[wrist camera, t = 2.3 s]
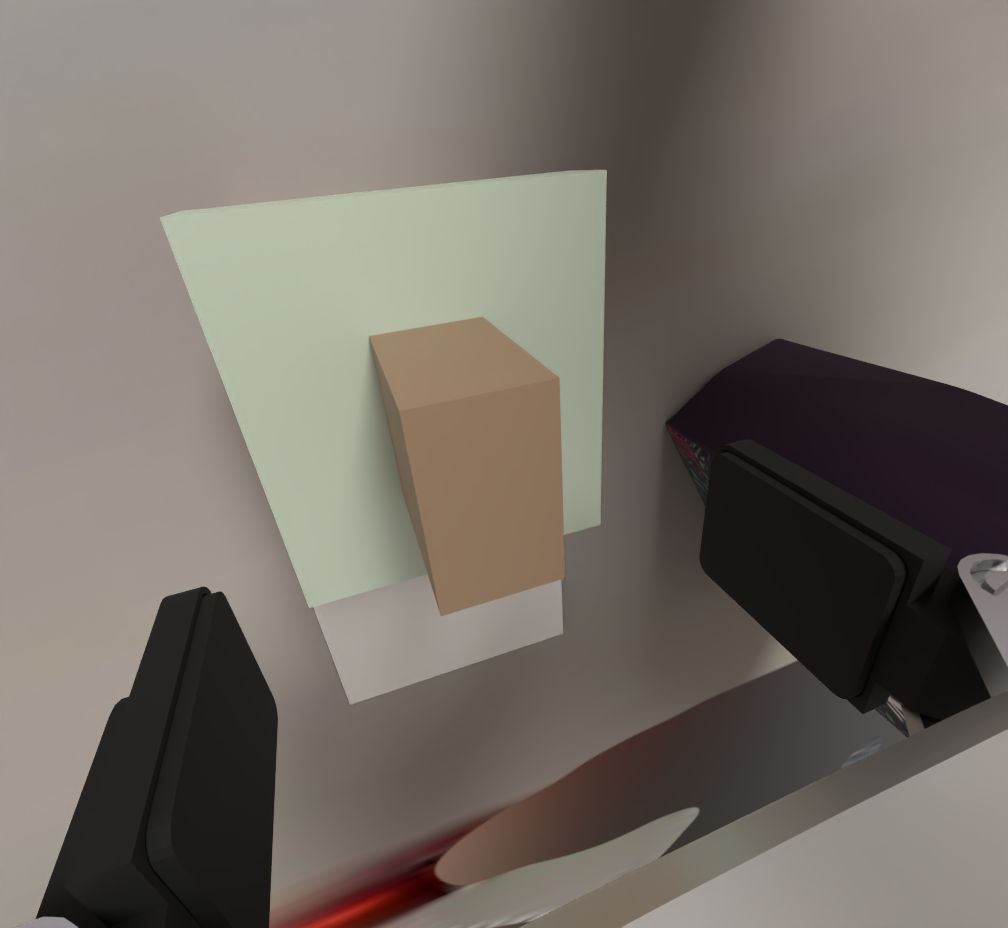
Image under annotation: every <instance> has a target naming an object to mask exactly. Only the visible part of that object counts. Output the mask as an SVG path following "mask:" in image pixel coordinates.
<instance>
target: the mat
mask: <svg viewBox="0 0 1008 928" xmlns="http://www.w3.org/2000/svg"><path fill="white" fill-rule="evenodd" d="M313 608H314V610H315V613H316V616H317V618H318V621H319V624H320V626H321V629H322V632H323V634H324V637H325V639H326V642H327V645H328V647H329V650H330V653H331V655H332V658H333V661H334V663H335V666H336V669H337V671H338V674H339V677H340V679H341V682H342V685H343V687H344V690H345V693H346V695H347V698H348V701H349V703H350V705H351V704H354V703H357V702H360V701H363V700H366V699H369V698H372V697H375V696H378V695H381V694H384V693H387V692H390V691H393V690H396V689H399V688H402V687H405V686H408V685H411V684H414V683H417V682H420V681H423V680H426V679H429V678H432V677H435V676H438V675H441V674H444V673H447V672H450V671H453V670H456V669H459V668H462V667H465V666H468V665H471V664H474V663H477V662H480V661H483V660H486V659H489V658H492V657H495V656H498V655H501V654H504V653H507V652H510V651H513V650H516V649H519V648H522V647H525V646H528V645H531V644H534V643H537V642H540V641H542V640H545V639H548V638H551V637H554V636H557V635H560V634H563V612H562V581H561V580H558V581H555V582H551V583H548V584H545V585H542V586H538V587H535V588H532V589H529V590H525V591H522V592H519V593H516V594H512V595H509V596H506V597H503V598H499V599H496V600H493V601H490V602H486V603H483V604H480V605H477V606H473V607H470V608H467V609H464V610H460V611H457V612H454V613H451V614H447V615H444V616H441V615H440V612H439V609H438V606H437V603H436V599H435V596H434V593H433V590H432V586H431V583H430V580H429V577H428V574H426V575H423V576H419V577H416V578H412V579H409V580H405V581H402V582H398V583H395V584H392V585H388V586H385V587H381V588H378V589H374V590H371V591H367V592H364V593H360V594H357V595H353V596H350V597H346V598H343V599H339V600H336V601H332V602H329V603H325V604H322V605H318V606H315V607H313Z"/></svg>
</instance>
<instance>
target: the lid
mask: <svg viewBox="0 0 1008 928" xmlns="http://www.w3.org/2000/svg"><path fill="white" fill-rule="evenodd" d="M606 182H607V170H569V171H560V172H550V173H541V174H531V175H522V176H512V177H503V178H493V179H483V180H474V181H464V182H455V183H445V184H436V185H426V186H417V187H407V188H397V189H388V190H378V191H369V192H359V193H350V194H340V195H331V196H321V197H312V198H302V199H292V200H283V201H273V202H264V203H254V204H245V205H235V206H226V207H216V208H206V209H197V210H187V211H180V212H176V213H173V214H170V215H166V216H163V217H160V219H161V222H162V225H163V227H164V230H165V232H166V235H167V238H168V240H169V243H170V245H171V248H172V251H173V253H174V256H175V259H176V261H177V264H178V266H179V269H180V272H181V274H182V277H183V279H184V282H185V285H186V287H187V290H188V293H189V295H190V298H191V300H192V303H193V306H194V308H195V311H196V313H197V316H198V319H199V321H200V324H201V327H202V329H203V332H204V334H205V337H206V340H207V342H208V345H209V347H210V350H211V353H212V355H213V358H214V361H215V363H216V366H217V368H218V371H219V374H220V376H221V379H222V381H223V384H224V387H225V389H226V392H227V395H228V397H229V400H230V402H231V405H232V408H233V410H234V413H235V415H236V418H237V421H238V423H239V426H240V429H241V431H242V434H243V436H244V439H245V442H246V444H247V447H248V449H249V452H250V455H251V457H252V460H253V463H254V465H255V468H256V470H257V473H258V476H259V478H260V481H261V483H262V486H263V489H264V491H265V494H266V497H267V499H268V502H269V504H270V507H271V510H272V512H273V515H274V517H275V520H276V523H277V525H278V528H279V531H280V533H281V536H282V538H283V541H284V544H285V546H286V549H287V551H288V554H289V557H290V559H291V562H292V565H293V567H294V570H295V572H296V575H297V578H298V580H299V583H300V585H301V588H302V591H303V593H304V596H305V599H306V601H307V604H308V606H309V608H311V607H315V606H318V605H322V604H325V603H329V602H332V601H336V600H339V599H343V598H346V597H350V596H353V595H357V594H360V593H364V592H367V591H371V590H374V589H378V588H381V587H385V586H388V585H392V584H395V583H398V582H402V581H405V580H409V579H412V578H416V577H419V576H423V575H426V574H428V577H429V580H430V583H431V586H432V590H433V593H434V596H435V599H436V603H437V606H438V609H439V612H440V615H441V616H444V615H447V614H451V613H454V612H457V611H460V610H464V609H467V608H470V607H473V606H477V605H480V604H483V603H486V602H490V601H493V600H496V599H499V598H503V597H506V596H509V595H512V594H516V593H519V592H522V591H525V590H529V589H532V588H535V587H538V586H542V585H545V584H548V583H551V582H555V581H558V580H561V579H564V578H565V556H564V535H566V534H570V533H573V532H577V531H580V530H584V529H587V528H591V527H594V526H598V525H600V518H601V462H602V406H603V350H604V294H605V238H606Z"/></svg>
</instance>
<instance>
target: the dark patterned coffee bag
mask: <svg viewBox="0 0 1008 928" xmlns="http://www.w3.org/2000/svg"><path fill="white" fill-rule="evenodd" d="M666 426H667V428H668V431H669V433H670V435H671V437H672V439H673V441H674V443H675V445H676V447H677V449H678V451H679V453H680V455H681V457H682V459H683V461H684V463H685V465H686V467H687V469H688V471H689V473H690V475H691V477H692V480H693V482H694V484H695V486H696V488H697V490H698V492H699V494H700V496H701V498H702V500H703V502H704V504H705V506H706V501H707V493H708V485H709V477H710V469H711V462H712V459H713V457H714V456H715V455H716V453H717V451H718V449H719V448H720V447H722V446H723V445H727V444H731V443H734V442H738V441H742V440H748V439H749V440H752V441H755V442H756V443H758V444H760V445H762V446H764V447H766V448H767V449H769V450H771V451H773V452H775V453H777V454H778V455H780V456H782V457H784V458H786V459H787V460H789V461H791V462H793V463H795V464H797V465H798V466H800V467H802V468H804V469H806V470H808V471H809V472H811V473H813V474H815V475H817V476H818V477H820V478H822V479H824V480H826V481H828V482H829V483H831V484H833V485H835V486H837V487H839V488H840V489H842V490H844V491H846V492H848V493H849V494H851V495H853V496H855V497H857V498H859V499H860V500H862V501H864V502H866V503H868V504H870V505H871V506H873V507H875V508H877V509H879V510H880V511H882V512H884V513H886V514H888V515H890V516H891V517H893V518H895V519H897V520H899V521H901V522H902V523H904V524H906V525H908V526H910V527H911V528H913V529H915V530H917V531H919V532H921V533H922V534H924V535H926V536H928V537H930V538H932V539H933V540H935V541H937V542H939V543H941V544H942V545H944V546H946V547H948V548H950V549H952V551H951V553H950V555H949V558H948V560H947V562H946V565H945V566H946V567H947V568H949V569H951V570H952V571H954V572H955V571H956V568H957V566H958V564H959V562H960V560H961V559H963V558H965V557H967V556H969V555H974V554H980V553H987V554H1000V555H1005V556H1008V405H1005V404H1002V403H1000V402H997V401H994V400H992V399H989V398H986V397H984V396H981V395H978V394H976V393H973V392H970V391H967V390H964V389H961V388H958V387H955V386H951V385H948V384H944V383H940V382H937V381H933V380H929V379H926V378H922V377H918V376H915V375H911V374H907V373H903V372H900V371H896V370H892V369H889V368H885V367H881V366H878V365H874V364H870V363H867V362H863V361H859V360H856V359H852V358H848V357H845V356H841V355H837V354H833V353H830V352H826V351H822V350H819V349H815V348H811V347H808V346H804V345H800V344H797V343H793V342H789V341H786V340H783V339H776V340H774V341H772V342H771V343H769V344H767V345H765V346H764V347H762V348H760V349H758V350H756V351H755V352H753V353H751V354H749V355H748V356H746V357H744V358H742V359H741V360H739V361H737V362H735V363H734V364H732V365H730V366H728V367H727V368H725V369H723V370H722V371H720V372H719V373H718V374H717V375H716V376H715V377H714V378H713V379H712V380H711V381H710V382H709V383H708V384H707V385H706V386H705V387H704V388H703V389H702V390H701V391H700V392H699V393H698V394H697V395H696V396H695V397H694V398H693V399H692V400H691V401H690V402H689V403H688V404H687V405H686V406H685V407H684V408H683V409H682V410H681V411H680V412H679V413H678V414H676V415H675V416H674V417H672V418H671V419H670V420H668V421H667V422H666ZM875 710H876V711H877V712H879V713H880V714H881V715H882V716H883V717H884V718H885V719H887V720H888V721H889V722H890V723H891V724H892V725H894V726H895V727H896V728H897V729H898V730H899V731H901V732H902V733H903V734H904V735H905V736H906V737H909V736H910V735H909V732H908V729H907V725H906V722H905V719H904V715H903V712H902V709H901V705H900V701H898V700H897V699H896V698H895V697H894V696H892V695H891V694H890V696H889V698H888V700H887V703H886V704H884V705H881V706H879V707H877V708H875Z"/></svg>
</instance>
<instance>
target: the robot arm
mask: <svg viewBox="0 0 1008 928" xmlns="http://www.w3.org/2000/svg"><path fill="white" fill-rule="evenodd" d="M951 551H952V549H950V548H948V547H946V546H944V545H942V544H941V543H939V542H937V541H935V540H933V539H932V538H930V537H928V536H926V535H924V534H922V533H921V532H919V531H917V530H915V529H913V528H911V527H910V526H908V525H906V524H904V523H902V522H901V521H899V520H897V519H895V518H893V517H891V516H890V515H888V514H886V513H884V512H882V511H880V510H879V509H877V508H875V507H873V506H871V505H870V504H868V503H866V502H864V501H862V500H860V499H859V498H857V497H855V496H853V495H851V494H849V493H848V492H846V491H844V490H842V489H840V488H839V487H837V486H835V485H833V484H831V483H829V482H828V481H826V480H824V479H822V478H820V477H818V476H817V475H815V474H813V473H811V472H809V471H808V470H806V469H804V468H802V467H800V466H798V465H797V464H795V463H793V462H791V461H789V460H787V459H786V458H784V457H782V456H780V455H778V454H777V453H775V452H773V451H771V450H769V449H767V448H766V447H764V446H762V445H760V444H758V443H756V442H755V441H752V440H749V439H748V440H742V441H738V442H734V443H731V444H727V445H723V446H722V447H720V448H719V449H718V451H717V453H716V455H715V456H714V457H713V459H712V462H711V469H710V477H709V485H708V493H707V501H706V509H705V517H704V525H703V533H702V541H701V549H700V563H701V566H702V568H703V570H704V572H705V573H706V574H707V575H708V576H709V577H710V578H711V579H712V580H713V581H714V582H715V583H717V584H718V585H719V586H720V587H721V588H722V589H723V590H724V591H725V592H726V593H727V594H728V595H729V596H730V597H731V598H732V599H734V600H735V601H736V602H737V603H738V604H739V605H740V606H741V607H742V608H743V609H744V610H745V611H746V612H747V613H748V614H750V615H751V616H752V617H753V618H754V619H755V620H756V621H757V622H758V623H759V624H760V625H761V626H762V627H763V628H764V629H765V630H767V631H768V632H769V633H770V634H771V635H772V636H773V637H774V638H775V639H776V640H777V641H778V642H779V643H780V644H781V645H782V646H784V647H785V648H786V649H787V650H788V651H789V652H790V653H791V654H792V655H793V656H794V657H795V658H796V659H797V660H798V661H800V662H801V663H802V664H803V665H804V666H805V667H806V668H807V669H808V670H809V671H810V672H811V673H812V674H813V675H815V676H816V677H817V678H818V679H819V680H820V681H821V682H822V683H823V684H824V685H825V686H826V687H827V688H828V689H829V690H830V691H832V692H833V693H834V694H835V695H836V696H838V697H840V698H842V699H847V700H848V701H849V702H850V703H851V704H852V705H854V707H856V708H857V709H858V710H859V711H860V712H861V713H862V714H864V713H866V712H868V711H870V710H873V709H875V708H877V707H879V706H881V705H884V704H886V703H887V700H888V698H889V696H890V694H891V695H892V696H894V697H895V698H896V699H897V700H898V701H900V705H901V709H902V712H903V715H904V719H905V722H906V725H907V729H908V732H909V735H910V736H909V737H907V738H905V739H903V740H901V741H899V742H897V743H895V744H893V745H891V746H889V747H887V748H885V749H882V750H881V751H878V752H876V753H874V754H872V755H870V756H868V757H866V758H864V759H862V760H860V761H858V762H855V763H853V764H851V765H849V766H847V767H845V768H843V769H841V770H839V771H837V772H835V773H833V774H831V775H829V776H826V777H824V778H822V779H820V780H819V781H816V782H814V783H812V784H810V785H808V786H806V787H804V788H802V789H800V790H798V791H796V792H794V793H792V794H790V795H788V796H786V797H783V798H781V799H779V800H777V801H775V802H773V803H771V804H769V805H767V806H765V807H763V808H761V809H759V810H757V811H755V812H753V813H751V814H749V815H747V816H745V817H743V818H740V819H739V820H737V821H734V822H732V823H730V824H729V825H726V826H724V827H722V828H720V829H718V830H716V831H714V832H712V833H710V834H708V835H706V836H704V837H702V838H700V839H698V840H696V841H694V842H691V843H689V844H687V845H686V846H683V847H681V848H679V849H677V850H675V851H673V852H671V853H669V854H667V855H665V856H663V857H661V858H659V859H657V860H655V861H653V862H651V863H649V864H647V865H645V866H643V867H641V868H639V869H637V870H634V871H632V872H630V873H628V874H626V875H624V876H622V877H620V878H618V879H616V880H614V881H612V882H610V883H608V884H606V885H604V886H602V887H600V888H598V889H596V890H594V891H592V892H590V893H588V894H586V895H584V896H582V897H580V898H578V899H576V900H574V901H572V902H570V903H568V904H566V905H564V906H562V907H560V908H558V909H556V910H554V911H552V912H550V913H548V914H546V915H544V916H542V917H540V918H538V919H536V920H534V921H532V922H530V923H528V924H526V925H524V926H522V927H520V928H1008V556H1005V555H1000V554H987V553H980V554H974V555H969V556H967V557H965V558H963V559H961V560H960V562H959V564H958V566H957V568H956V571H955V572H954V571H952V570H951V569H949V568H947V567H946V566H945V565H946V562H947V560H948V558H949V555H950V553H951ZM277 726H278V716H277V708H276V704H275V700H274V698H273V695H272V693H271V691H270V689H269V687H268V685H267V683H266V681H265V678H264V676H263V674H262V672H261V670H260V668H259V666H258V664H257V662H256V660H255V657H254V655H253V653H252V651H251V649H250V647H249V645H248V643H247V641H246V638H245V636H244V634H243V632H242V630H241V628H240V626H239V624H238V622H237V620H236V617H235V615H234V613H233V611H232V609H231V607H230V605H229V603H228V601H227V599H226V597H225V595H224V594H223V593H222V592H216V593H211V592H210V590H209V589H208V588H207V587H200V588H196V589H193V590H189V591H185V592H182V593H178V594H174V595H171V596H167V597H165V598H164V599H163V600H162V602H161V604H160V607H159V610H158V613H157V616H156V619H155V622H154V625H153V628H152V631H151V634H150V637H149V640H148V643H147V645H146V648H145V651H144V654H143V657H142V660H141V663H140V666H139V669H138V672H137V675H136V678H135V681H134V684H133V687H132V690H131V693H130V696H129V697H127V698H123V699H121V700H120V701H119V702H118V703H117V704H116V705H115V706H114V708H113V710H112V712H111V714H110V716H109V719H108V722H107V724H106V727H105V730H104V732H103V735H102V738H101V741H100V743H99V746H98V749H97V752H96V754H95V757H94V760H93V763H92V765H91V768H90V771H89V774H88V776H87V779H86V782H85V785H84V787H83V790H82V793H81V796H80V798H79V801H78V804H77V807H76V809H75V812H74V815H73V818H72V820H71V823H70V826H69V829H68V831H67V834H66V837H65V840H64V842H63V845H62V848H61V851H60V853H59V856H58V859H57V862H56V864H55V867H54V870H53V873H52V875H51V878H50V881H49V883H48V886H47V889H46V892H45V894H44V897H43V900H42V903H41V905H40V908H39V911H38V914H37V916H36V919H35V920H31V921H28V922H25V923H22V924H19V925H17V926H15V927H14V928H269V913H270V890H271V866H272V843H273V819H274V796H275V773H276V749H277Z"/></svg>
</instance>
